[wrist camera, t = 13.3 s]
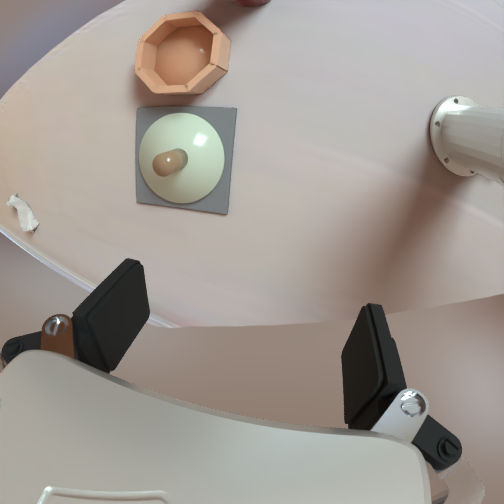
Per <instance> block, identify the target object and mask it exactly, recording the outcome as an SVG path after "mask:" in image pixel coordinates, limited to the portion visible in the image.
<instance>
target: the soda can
mask: <svg viewBox="0 0 504 504" xmlns="http://www.w3.org/2000/svg"><path fill="white" fill-rule="evenodd" d="M230 1H232V2H233V3H235V4H237V5H240V6H244V7H254V6H259V5H262V4H264V3H266V2H268V1H269V0H230Z"/></svg>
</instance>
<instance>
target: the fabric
mask: <svg viewBox="0 0 504 504" xmlns="http://www.w3.org/2000/svg"><path fill="white" fill-rule="evenodd" d="M6 205H7V206H14V207H15V208H16V209H17V211H18V217H19V221H20V226H21V227H22V229H23V230H24V232H25V231H29V232H33V233H34V232H35V231H33V230H34V229H36V228H37V225H38V224H39V223H38V221H37V220H35V217H34V214H33V212H32V210H31V209H30V207H29V206H28V205H27V204H26V203H25V202H24V201H20V199H19V198H18V197H17V193H16V194H14V195H12V196H11V197H10V198H9V200H8V202H6Z"/></svg>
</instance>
